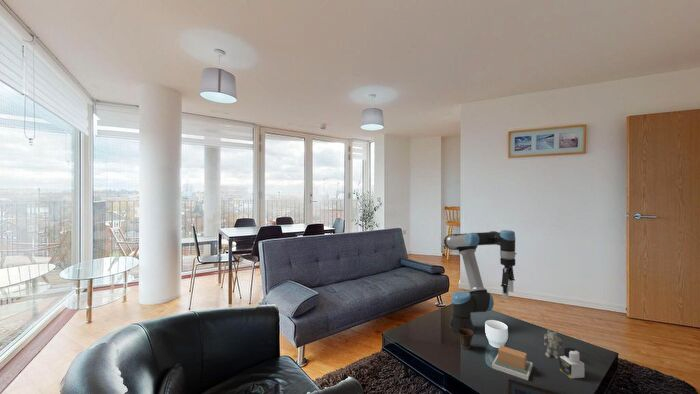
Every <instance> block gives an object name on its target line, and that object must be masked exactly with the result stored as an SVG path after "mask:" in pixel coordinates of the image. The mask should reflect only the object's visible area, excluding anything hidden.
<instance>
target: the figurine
mask: <svg viewBox="0 0 700 394" xmlns="http://www.w3.org/2000/svg"><path fill="white" fill-rule="evenodd" d="M543 339H544V343H543V345H544V346H546V352H545V353H544V354H545V356H546V357H547V358H550V357H551V353H552V352H553V355H552V356H553V358H554V359H556V360H558V359H559V360H560V356H559V353H558V352H559V351H558V348H559V349H561V348H562V346H561V345H562V338H561V336H560V335H558V330H555V331H552V330H550V329H547V332H546V333H544V334H543Z"/></svg>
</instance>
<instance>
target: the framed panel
mask: <svg viewBox="0 0 700 394" xmlns="http://www.w3.org/2000/svg"><path fill="white" fill-rule="evenodd" d="M533 366H534V365H533V362H531V361H528V360H527V365H526V368H525V370H523V369H520V368H517V367H514V366H511V365H508V364H505V363H502V362H499V361H498V353H497V355H496V357H495V358H494V359H493V362H492V364H491V368H492V369H494V370H497V371H500V372H502V373H505V374H508V375H512V376H514V377H516V378H519V379H523V380H525V381H528V380H529V379H530V375H531V372H532V370H533Z"/></svg>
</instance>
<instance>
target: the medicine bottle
mask: <svg viewBox="0 0 700 394" xmlns="http://www.w3.org/2000/svg"><path fill="white" fill-rule="evenodd" d="M563 352H564V353H563V354H564V355H561V356H559V371H560V372H562V373H563V374H564V375H566V376H567V377H568V378H570V379H582V378H585V362H583V361H581V360H580V351H578V350H577V349H575V348H573V347H565V348H564V349H563Z"/></svg>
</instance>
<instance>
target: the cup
mask: <svg viewBox="0 0 700 394" xmlns="http://www.w3.org/2000/svg"><path fill="white" fill-rule="evenodd" d="M457 333H458V336H459V339H460V345H461V348H462V349H463V350H470V349H471V344H472V341H473V337H474V335H475V331H472V330H470V329H466V328H460V329H458V332H457Z"/></svg>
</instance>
